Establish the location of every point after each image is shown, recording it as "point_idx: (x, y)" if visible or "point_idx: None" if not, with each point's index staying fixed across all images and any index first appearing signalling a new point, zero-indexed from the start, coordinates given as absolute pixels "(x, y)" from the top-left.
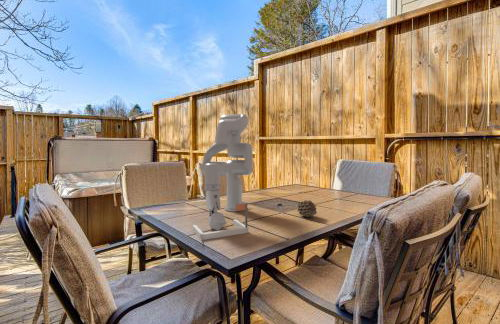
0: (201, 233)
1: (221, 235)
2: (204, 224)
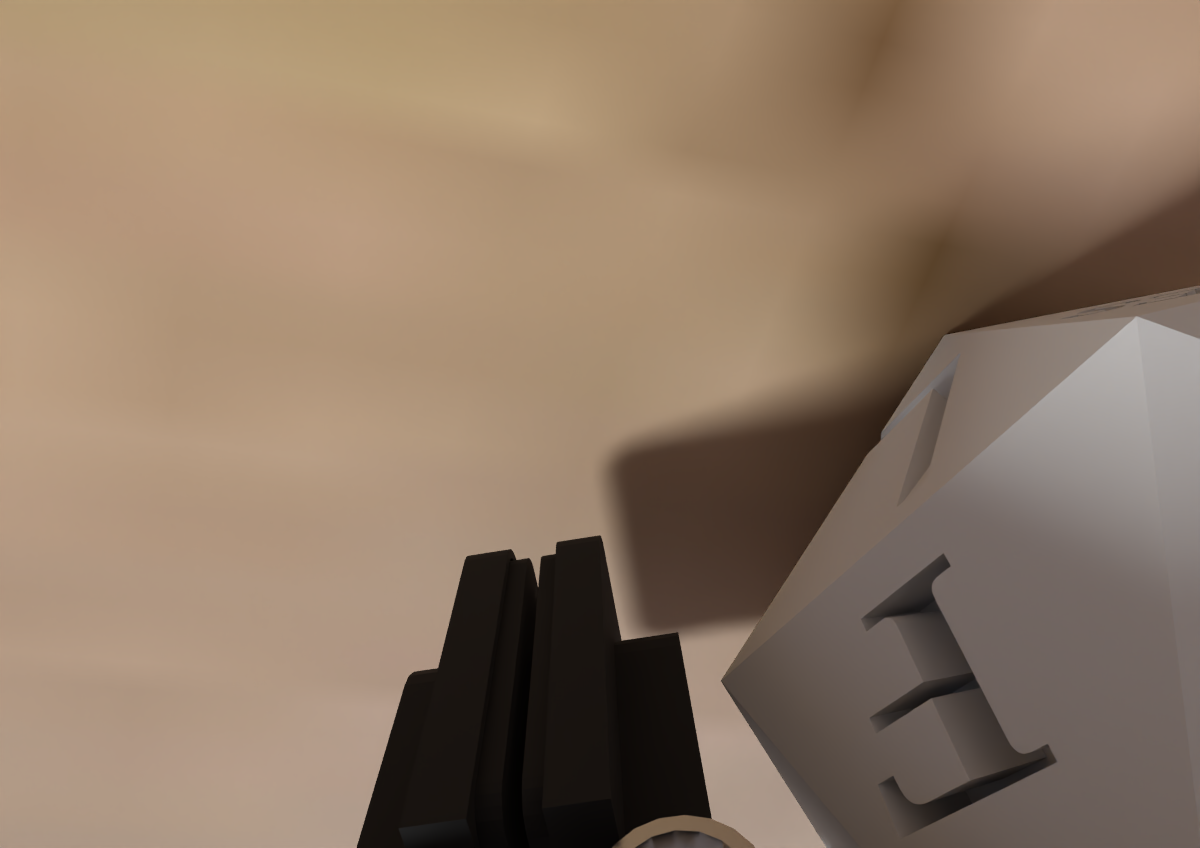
0: None
1: None
2: None
